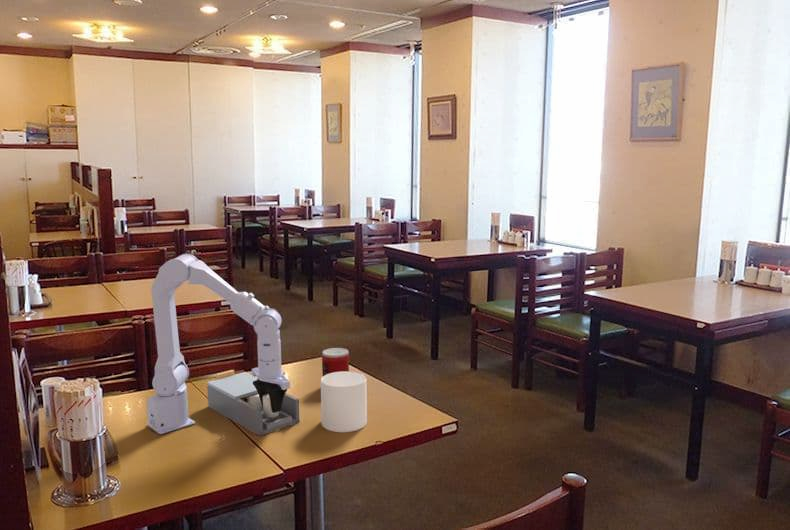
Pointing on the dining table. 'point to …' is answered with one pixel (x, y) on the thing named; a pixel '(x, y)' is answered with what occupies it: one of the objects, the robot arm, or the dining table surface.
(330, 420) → the white cylinder
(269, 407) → the white rounded cylinder
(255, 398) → the white rounded tapered block
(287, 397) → the housing
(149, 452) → the dining table surface
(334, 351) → the canned food
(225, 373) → the lid
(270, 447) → the dining table surface
